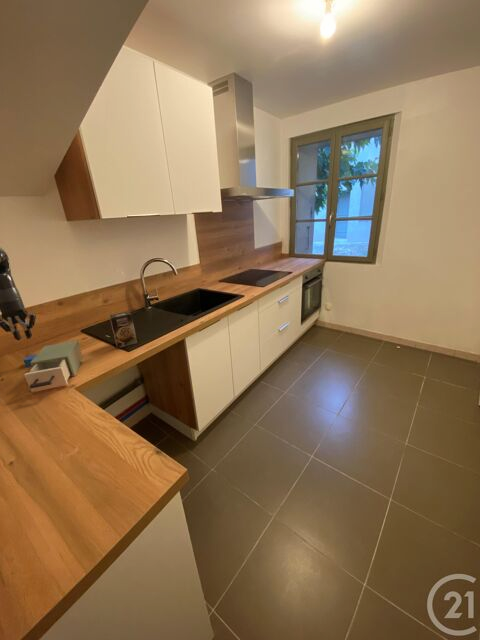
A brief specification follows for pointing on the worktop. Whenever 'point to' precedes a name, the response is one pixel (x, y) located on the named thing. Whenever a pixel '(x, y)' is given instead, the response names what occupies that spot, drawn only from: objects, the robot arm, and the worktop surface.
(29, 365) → the blue cube
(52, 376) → the dispenser drawer
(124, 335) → the coffee box
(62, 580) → the worktop surface
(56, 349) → the grey-green drawer cabinet
